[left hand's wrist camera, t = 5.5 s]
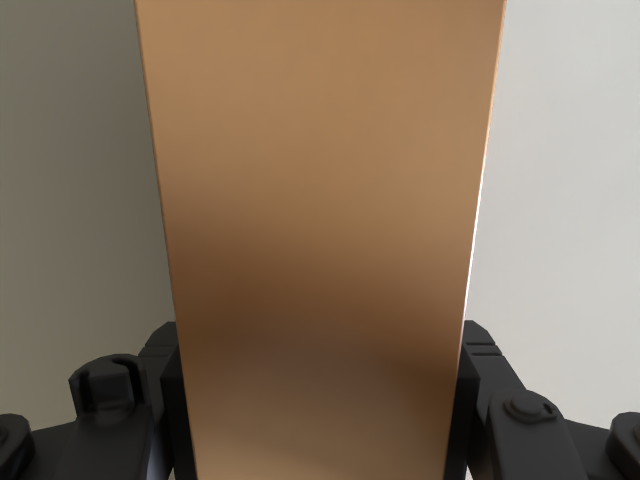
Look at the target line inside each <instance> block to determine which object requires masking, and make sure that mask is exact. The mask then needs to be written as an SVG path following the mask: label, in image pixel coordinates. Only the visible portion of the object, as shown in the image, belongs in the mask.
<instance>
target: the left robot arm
mask: <svg viewBox="0 0 640 480" xmlns="http://www.w3.org/2000/svg"><path fill="white" fill-rule="evenodd" d="M68 381H69V385H70V389H71V393H72V398H73V402H74V406H75V410H76V414H77V418H76V421H73V422H69V423H66V424H62V425H58V426H54V427H49V428H45V429H40V430H36V431H32V432H31V429H30V425H29V422H28V421H27V420H26V419H25V418H24V417H23V416H22V415H16V414H2V415H0V480H168V478H169V476H170V473H171V471H172V468H174V475H175V480H197V478H196V470H195V462H194V455H193V447H192V440H191V432H190V425H189V417H188V409H187V402H186V394H185V387H184V379H183V372H182V364H181V356H180V349H179V341H178V334H177V326H176V322H167V323H165V324H164V325H163V326H161V327H160V328H158V329H157V330H156V331H154V332H153V333H152V335H151V336H150V338H149V339H148V341H147V342H146V344H145V347H143V348H142V350H141V351H140V353H139V354H138V356H134V355H131V354H113V355H109V356H104V357H100V358H98V359H95V360H93V361H91V362H88V363H86V364H85V365H83V366H82V367H81V368H79V369H78V370H76V371H75V372H74V373H73V375H72V376H71V377H70V379H69V380H68ZM467 465H468V468H469V470H470V473H471V475H472V478H473V480H640V413H637V412H626V413H620V414H618V415H617V416H616V417H615V418H614V419H613V420H612V423H611V427H610V430H608V429H604V428H599V427H595V426H590V425H586V424H581V423H577V422H574V421H570V420H567V419H564V417H563V415H562V414H561V412H560V411H559V409H558V408H557V406H555V405H554V404H553V403H552V402H550V401H549V400H548V399H547V398H545V397H543V396H541V395H539V394H537V393H535V392H533V391H529V390H526V388H525V387H524V385H523V384H522V382H521V381H520V379H519V378H518V376H517V375H516V373H515V372H514V370H513V369H512V367H511V366H510V364H509V363H508V361H507V360H506V358H505V357H504V356H502V352H501V351H500V349H499V348H498V346H497V345H495V342H494V340H493V339H492V337H491V336H490V334H489V333H488V331H487V330H485V329H484V328H483V327H481V326H480V325H478V324H477V323H476V322H474V321H473V320H464V328H463V336H462V343H461V351H460V358H459V366H458V374H457V381H456V389H455V396H454V404H453V412H452V419H451V427H450V434H449V442H448V450H447V457H446V465H445V472H444V480H465V477H466V470H467Z"/></svg>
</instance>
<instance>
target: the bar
mask: <svg viewBox="0 0 640 480" xmlns="http://www.w3.org/2000/svg"><path fill="white" fill-rule="evenodd" d="M506 1H507V0H134V8H135V16H136V23H137V31H138V38H139V46H140V53H141V61H142V69H143V76H144V84H145V91H146V99H147V106H148V114H149V122H150V129H151V137H152V144H153V152H154V159H155V167H156V175H157V182H158V190H159V197H160V205H161V212H162V220H163V228H164V235H165V243H166V250H167V258H168V266H169V273H170V281H171V288H172V296H173V303H174V311H175V319H176V326H177V334H178V341H179V349H180V356H181V364H182V372H183V379H184V387H185V394H186V402H187V409H188V417H189V425H190V432H191V440H192V447H193V455H194V462H195V470H196V478H197V480H444V472H445V465H446V457H447V450H448V442H449V434H450V427H451V419H452V412H453V404H454V396H455V389H456V381H457V374H458V366H459V358H460V351H461V343H462V336H463V328H464V320H465V313H466V305H467V298H468V290H469V282H470V275H471V267H472V260H473V252H474V244H475V237H476V229H477V222H478V214H479V206H480V199H481V191H482V184H483V176H484V168H485V161H486V153H487V146H488V138H489V130H490V123H491V115H492V108H493V100H494V92H495V85H496V77H497V70H498V62H499V54H500V47H501V39H502V32H503V24H504V16H505V9H506Z"/></svg>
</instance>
